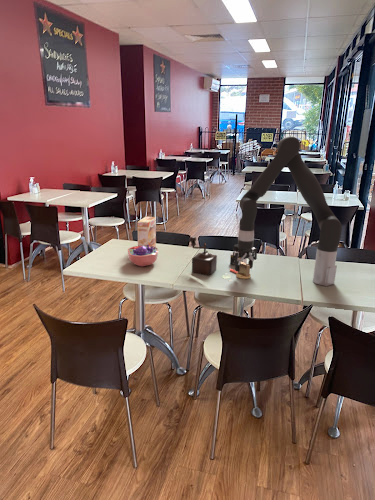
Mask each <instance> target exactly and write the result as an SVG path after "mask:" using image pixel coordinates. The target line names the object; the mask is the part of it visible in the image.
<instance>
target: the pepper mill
mask: <svg viewBox="0 0 375 500" xmlns="http://www.w3.org/2000/svg"><path fill="white" fill-rule="evenodd" d="M188 242H190V243H191V244H190V246H191V247H192V249H195V250H196V249H197V250H198V249H199V250H200V249H203V252H198V253H197V254H196V255H195V256H194V257H192V258H191V273H192V276H194V277H195V275H194V274H197V275H203V276H209V277H211V276H212V275H213V274H214V273H215V272H216V271H217V261H218V255H217V254H212V253H209V252H208V251H207V250H206V249H207V243H206V242H205V243H203V246H196V245H197V243H196V242H197V238H196V237H195V236H190V237H189V239H188Z"/></svg>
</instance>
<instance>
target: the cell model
mask: <svg viewBox="0 0 375 500" xmlns="http://www.w3.org/2000/svg"><path fill="white" fill-rule="evenodd" d="M158 253H159V249H158V248H157V246H156V247H154V246H150V245H140V246H138V245H135V246H131V247H129V248H127V255H128V256H127V258H128V260H129V261H130V262H131V263H132V264H133V265H136V266H138V267H147V266H150V265H153V264H155V263H156V262H157V259H158V255H159V254H158Z"/></svg>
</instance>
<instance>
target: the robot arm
mask: <svg viewBox="0 0 375 500" xmlns="http://www.w3.org/2000/svg"><path fill="white" fill-rule="evenodd" d="M276 150H277V151H276V154H275V156H274V157H273V158H272V161H270V163H269V164H268V166H267V167H265V169H264V170H263V171H262V172H261V173H260V175H259V176H258V177H257V179H256V180H255V181H254V182H253V185H252V186H251V187H250V188H249V190H247V192H246V193H245V194H243V196H242V197H241V198H240V200H239V205H238V206H239V208H240V209H241V210H242V212H241V213H242V214H241V218H240V219H239V224H238V225H239V229H238V233H237V235H238V236H237V244H238V249H239V250H238V252H235V251H234V250H233V251H232V253H233V257H232V263H233V264H235V265H234V270H235V271H237V272H239V270H240V263H241V261H243V259H246V258H247V260H248V263H247V264H249V265H250V269H251V270H252V269H253V267H254V261H256V260H257V259H258V256H257V255H258V254H257V253H258V250H257V248H255V247H254V241H255V240H254V239H255V220H256V217H257V212H258V203H257V202H258V200H259V199H261V198H263V197H264V196H265V195H266V193H267V192H268V191H269V190H270V188H271V186H272V185H273V184H274V183H275V181H276V179H277V178H278V177H279V175H280V174H281V172H282V171H283V169H284V168H285V167H287V168H288V170H289V172H290V174H291V176H292V178H293V181H294V182H295V183H294V184H295V185H296V187H297V189H298V190H299V192H300V195H301V196H302V198H303V200H304V201H305V203H306V204H307V206H308V207H309V208H310V209H311V210H312V212H313V214H314V217H315V219H316V222H317V225H318V227H319V229H320V232H319V239H318V242H317V244H316V254H315V262H314V268H313V277H312V282H313V283H314V284H316V285H319V286H325V287H329V286H333V285H334V284H335V281H336V273H337V265H336V262H337V256H338V255H337V253H338V248H339V246H340V242H341V236H342V231H343V229H342V228H343V227H342V223H341V221H340V220H339V219H338V218H337V216H336V215H335V214H334V212H333V211H332V210H331V208H330V206H329V205H328V202H327V200H326V197H325V193H324V190H323V188H322V187H321V183H320V182H319V181H318V179H317V177H316V176H315V174H314V173H313V172H312V170H311V168H309V167H308V166H307V165H306V163H305V162H304V160H303V158H302V155H301V154H300V150H301V143H300V140H299V138H297V137H295V136H291V135H290V136H286V137H284V138H281V139H280V140H279V141H278V143H277V146H276ZM239 257H240V258H241V259H240V258H239Z"/></svg>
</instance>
